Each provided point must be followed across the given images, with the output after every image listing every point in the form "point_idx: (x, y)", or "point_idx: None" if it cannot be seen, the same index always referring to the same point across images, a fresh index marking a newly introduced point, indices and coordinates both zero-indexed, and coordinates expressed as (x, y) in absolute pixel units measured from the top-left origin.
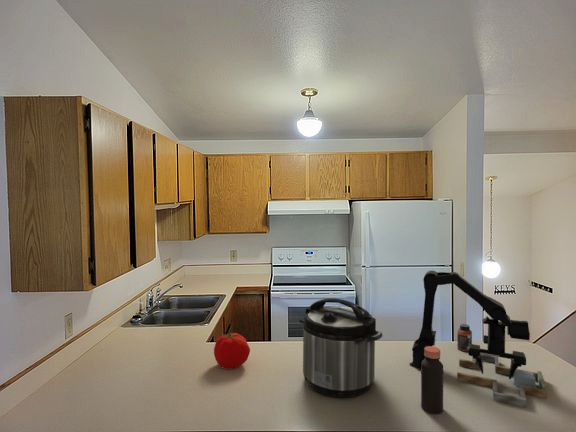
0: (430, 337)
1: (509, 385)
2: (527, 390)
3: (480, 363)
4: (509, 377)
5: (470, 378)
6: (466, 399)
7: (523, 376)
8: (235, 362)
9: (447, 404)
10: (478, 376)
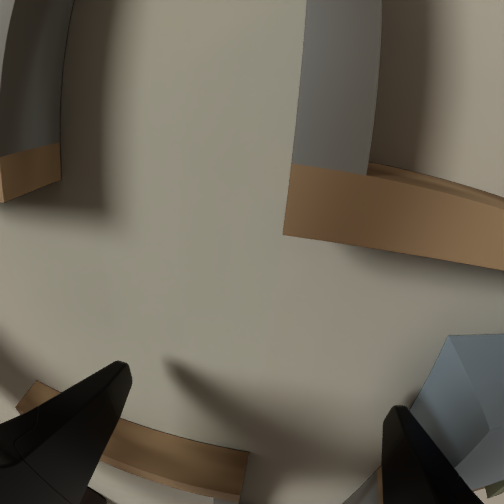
0: None
1: (357, 426)
2: None
3: (68, 494)
4: (382, 444)
5: None
6: (133, 489)
7: (471, 486)
8: None
9: (101, 489)
10: (117, 461)
